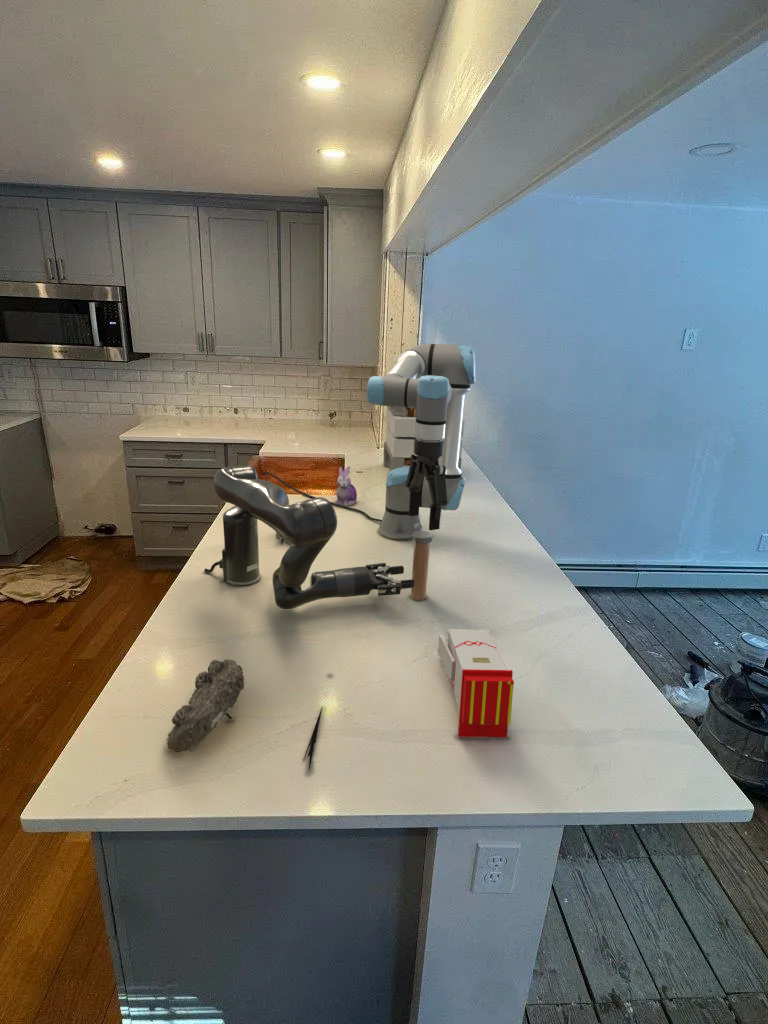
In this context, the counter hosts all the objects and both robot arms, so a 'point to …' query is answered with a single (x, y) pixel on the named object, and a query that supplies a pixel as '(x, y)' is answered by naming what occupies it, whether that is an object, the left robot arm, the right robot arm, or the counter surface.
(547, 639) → the counter surface
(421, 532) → the lid
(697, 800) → the counter surface
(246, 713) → the counter surface
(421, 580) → the jar
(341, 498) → the figurine
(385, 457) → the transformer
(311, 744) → the feather
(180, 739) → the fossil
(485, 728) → the toy
